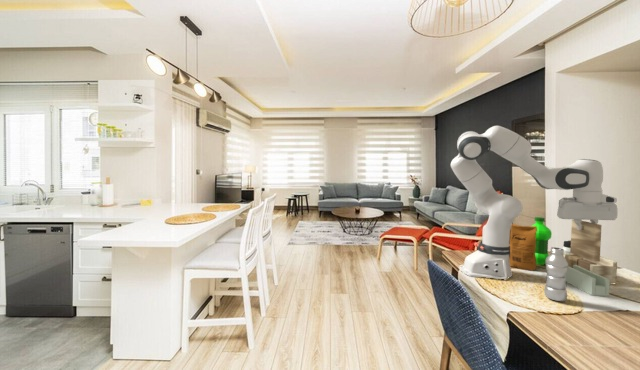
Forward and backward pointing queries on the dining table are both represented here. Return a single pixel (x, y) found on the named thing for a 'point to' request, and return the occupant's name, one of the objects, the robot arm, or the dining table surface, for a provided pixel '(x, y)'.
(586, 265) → the offcut tall
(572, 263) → the offcut low
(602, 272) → the box
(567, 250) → the medicine bottle
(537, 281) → the dining table surface
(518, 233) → the coffee package
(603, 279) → the stand
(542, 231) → the plastic bottle
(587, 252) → the light wood flat panel
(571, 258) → the offcut top
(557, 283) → the plastic bottle
